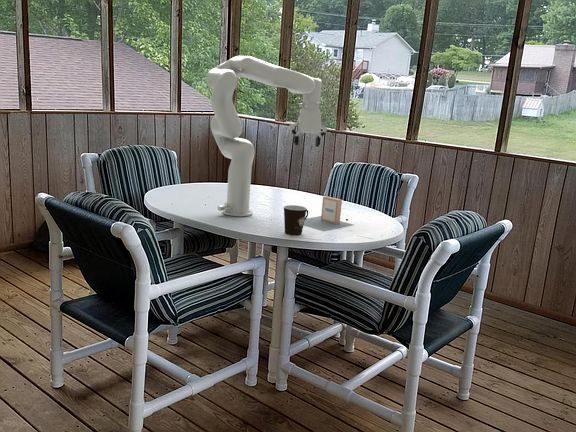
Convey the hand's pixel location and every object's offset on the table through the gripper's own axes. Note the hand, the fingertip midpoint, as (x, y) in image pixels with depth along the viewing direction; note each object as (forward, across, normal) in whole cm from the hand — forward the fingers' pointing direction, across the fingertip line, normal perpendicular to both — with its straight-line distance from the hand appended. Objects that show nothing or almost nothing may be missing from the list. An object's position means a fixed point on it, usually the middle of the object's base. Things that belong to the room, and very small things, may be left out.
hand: (306, 145), depth 248 cm
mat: (+29, +1, -28) cm, 41 cm away
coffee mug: (+30, -14, -42) cm, 53 cm away
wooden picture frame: (+28, +6, -26) cm, 39 cm away
